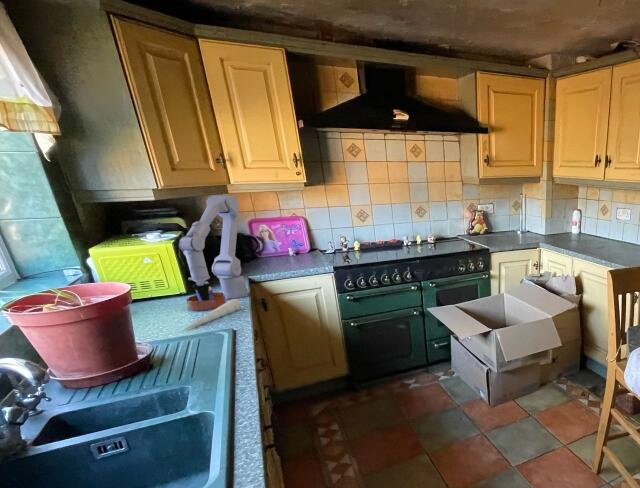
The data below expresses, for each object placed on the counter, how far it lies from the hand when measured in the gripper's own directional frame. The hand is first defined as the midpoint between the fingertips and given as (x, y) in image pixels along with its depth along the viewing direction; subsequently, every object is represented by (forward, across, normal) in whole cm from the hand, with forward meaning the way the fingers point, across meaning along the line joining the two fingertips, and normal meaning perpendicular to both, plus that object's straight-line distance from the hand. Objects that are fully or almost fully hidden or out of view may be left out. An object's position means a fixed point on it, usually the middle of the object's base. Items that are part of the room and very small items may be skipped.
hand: (206, 298), depth 175 cm
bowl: (+3, 0, 0) cm, 3 cm away
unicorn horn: (+4, +20, +3) cm, 20 cm away
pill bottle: (+3, 0, 0) cm, 3 cm away
